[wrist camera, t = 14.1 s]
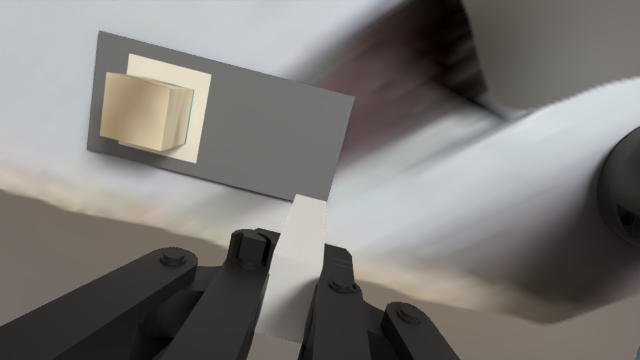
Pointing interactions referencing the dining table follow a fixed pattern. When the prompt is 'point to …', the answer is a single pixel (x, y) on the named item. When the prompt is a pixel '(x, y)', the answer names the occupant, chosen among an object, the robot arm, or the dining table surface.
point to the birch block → (145, 111)
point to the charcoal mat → (232, 121)
